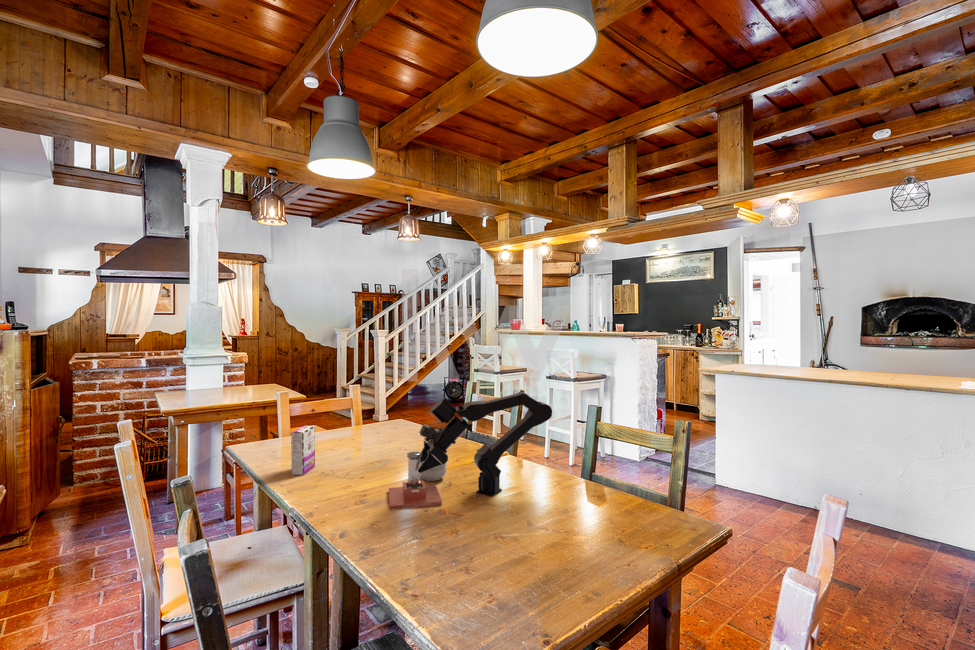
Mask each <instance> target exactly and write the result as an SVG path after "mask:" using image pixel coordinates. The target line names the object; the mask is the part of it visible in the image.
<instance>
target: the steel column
mask: <svg viewBox="0 0 975 650" xmlns="http://www.w3.org/2000/svg"><path fill="white" fill-rule="evenodd" d="M406 457H407V458H408V459H407V461H408V463H407V467H408V468H407V470H408V471H407V475H408V476H407V477H408V478H407V480H408V481H407V482H408V488H420V487H421V485H420V483H421V481H422V480H421V479H422V478H421V473H419V472H418V469H419V468H420V466H421V457H422V453H421V451H420V452H419V451H410V452H408V453H407V454H406Z"/></svg>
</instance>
